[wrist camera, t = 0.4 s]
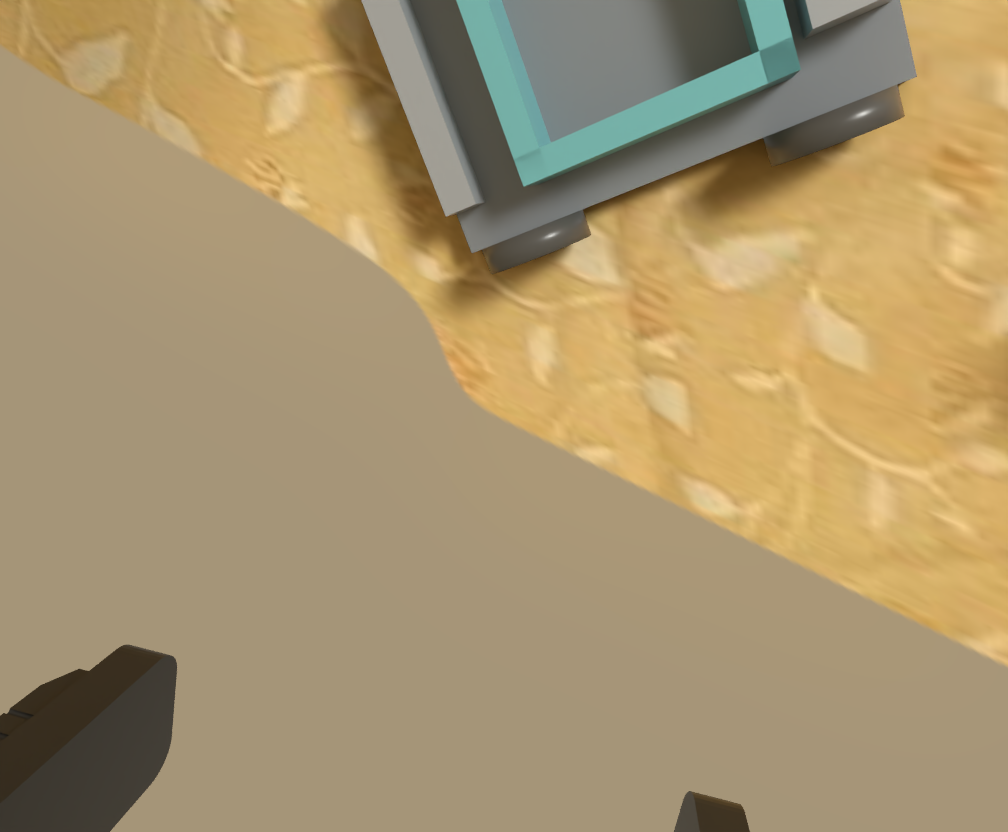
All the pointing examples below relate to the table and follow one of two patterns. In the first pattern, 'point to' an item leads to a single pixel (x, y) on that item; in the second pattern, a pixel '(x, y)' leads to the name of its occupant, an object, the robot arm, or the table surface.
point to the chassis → (623, 97)
